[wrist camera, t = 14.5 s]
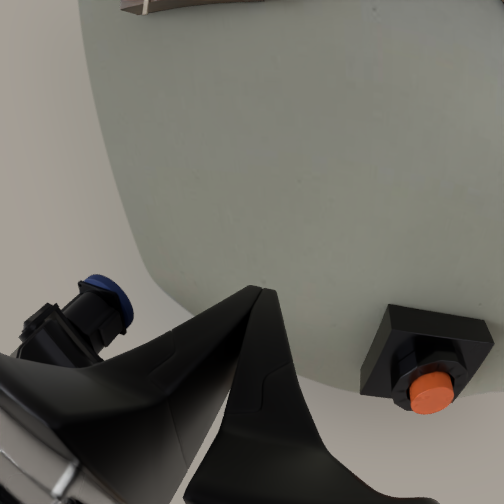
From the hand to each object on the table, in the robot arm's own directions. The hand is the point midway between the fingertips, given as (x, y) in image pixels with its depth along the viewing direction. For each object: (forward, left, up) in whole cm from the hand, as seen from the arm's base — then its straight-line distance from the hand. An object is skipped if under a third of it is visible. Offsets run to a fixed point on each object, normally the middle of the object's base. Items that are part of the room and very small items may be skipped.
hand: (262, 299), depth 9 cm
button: (+13, -12, -8) cm, 20 cm away
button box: (+13, -12, -13) cm, 22 cm away
